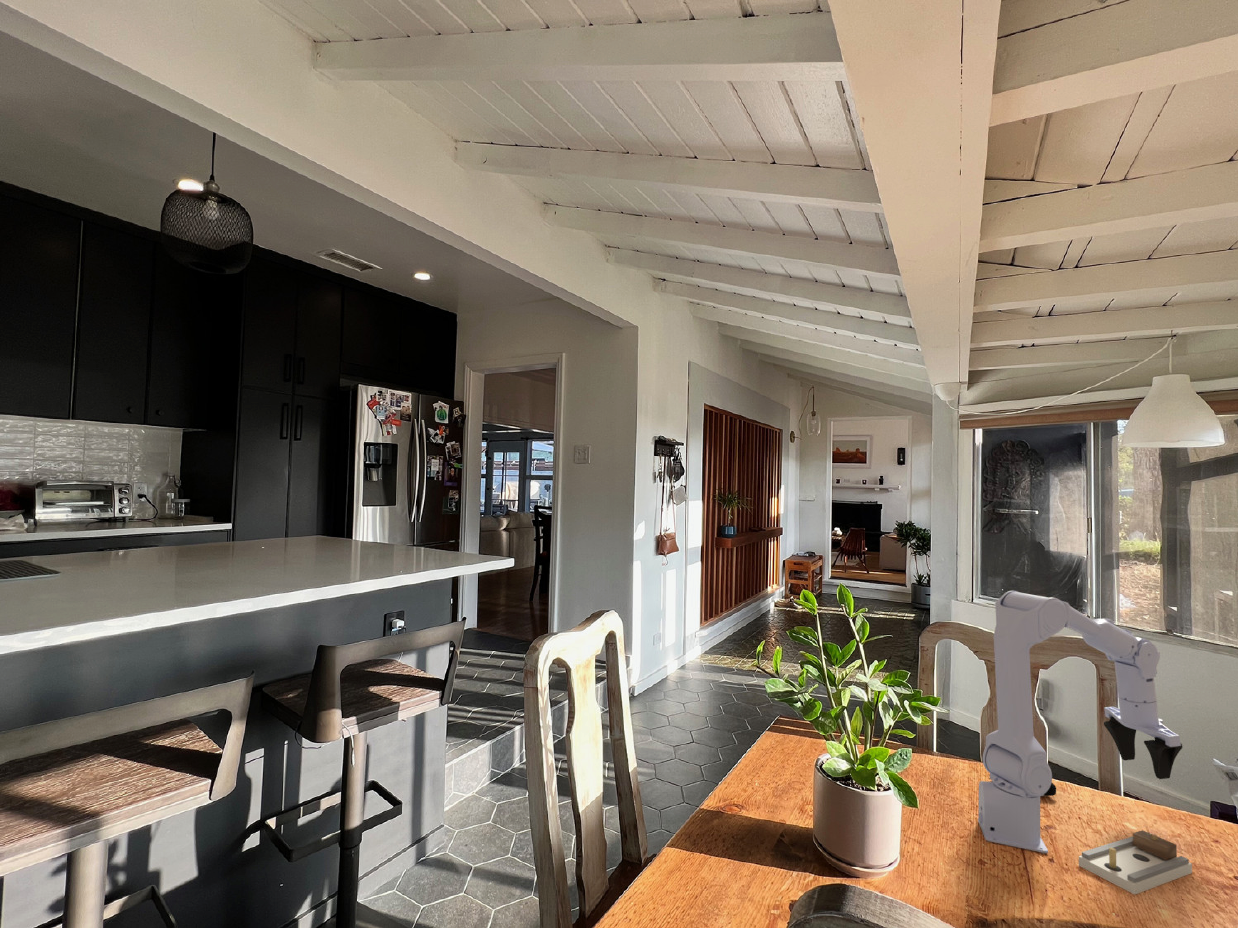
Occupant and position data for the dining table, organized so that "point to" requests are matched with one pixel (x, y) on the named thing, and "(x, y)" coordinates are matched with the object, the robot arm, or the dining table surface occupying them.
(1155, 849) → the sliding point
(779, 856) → the dining table surface
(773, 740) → the dining table surface
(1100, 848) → the plate
